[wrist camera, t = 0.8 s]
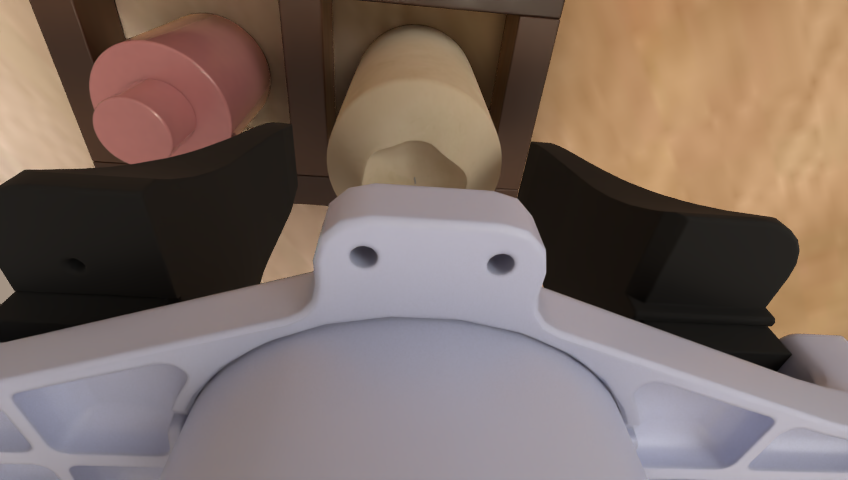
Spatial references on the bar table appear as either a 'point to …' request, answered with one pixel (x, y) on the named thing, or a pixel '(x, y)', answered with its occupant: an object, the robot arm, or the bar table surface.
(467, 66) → the candle
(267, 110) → the bar table surface
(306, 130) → the holder
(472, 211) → the robot arm
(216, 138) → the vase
